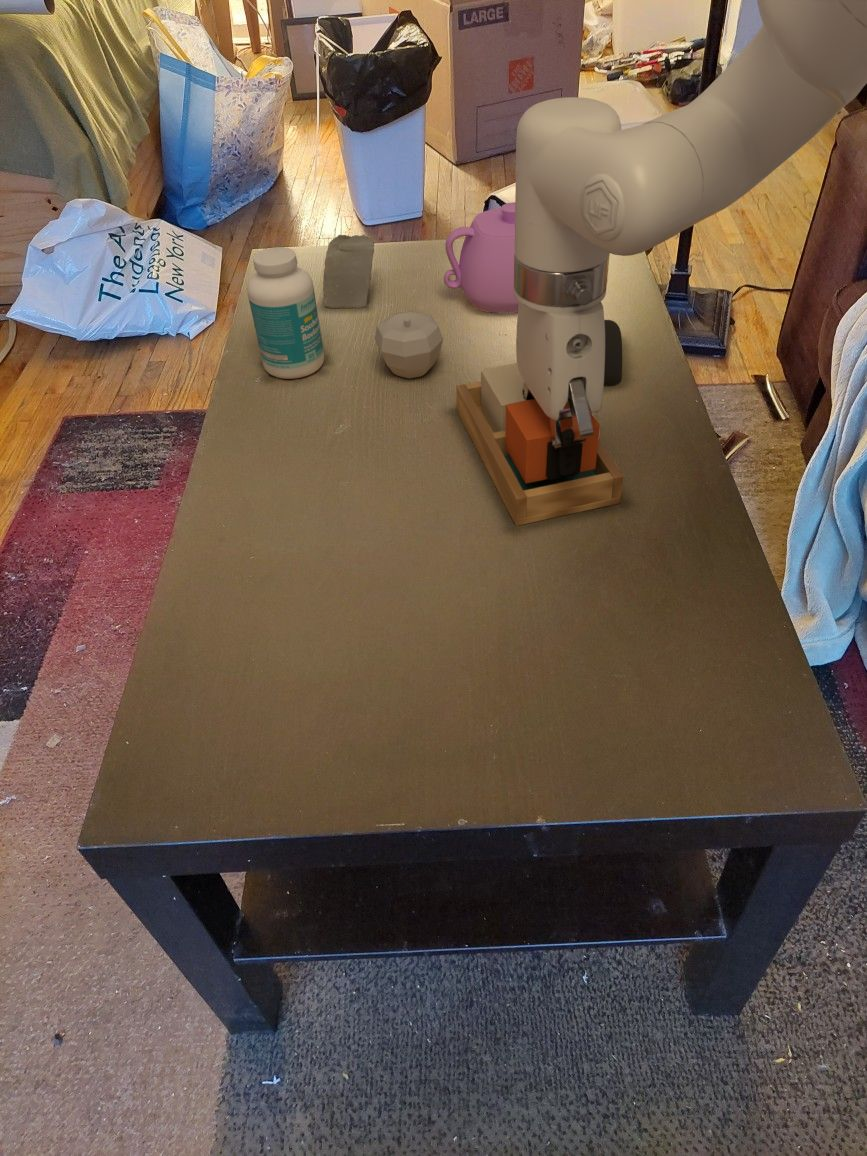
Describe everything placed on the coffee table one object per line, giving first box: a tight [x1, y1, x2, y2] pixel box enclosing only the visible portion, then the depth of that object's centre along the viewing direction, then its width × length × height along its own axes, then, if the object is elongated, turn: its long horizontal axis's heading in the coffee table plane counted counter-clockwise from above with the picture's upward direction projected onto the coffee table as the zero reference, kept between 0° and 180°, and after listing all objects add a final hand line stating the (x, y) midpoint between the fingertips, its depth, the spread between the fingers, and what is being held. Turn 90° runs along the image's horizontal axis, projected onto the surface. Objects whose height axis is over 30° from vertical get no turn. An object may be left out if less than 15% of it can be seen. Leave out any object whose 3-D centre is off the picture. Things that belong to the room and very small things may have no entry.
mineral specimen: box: [322, 234, 375, 309], centre depth 110 cm, size 7×9×8 cm
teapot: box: [443, 201, 519, 314], centre depth 106 cm, size 20×13×12 cm, turn 97°
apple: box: [374, 310, 444, 380], centre depth 97 cm, size 8×8×7 cm
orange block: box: [505, 399, 601, 484], centre depth 79 cm, size 7×6×5 cm
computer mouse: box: [604, 319, 623, 387], centre depth 97 cm, size 6×11×4 cm, turn 174°
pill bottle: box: [246, 246, 325, 380], centre depth 96 cm, size 8×7×14 cm
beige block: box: [480, 362, 527, 433], centre depth 87 cm, size 6×7×5 cm
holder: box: [455, 380, 625, 527], centre depth 85 cm, size 10×20×3 cm, turn 15°
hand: (550, 453), depth 80 cm, fingers closed on orange block, 6 cm apart
